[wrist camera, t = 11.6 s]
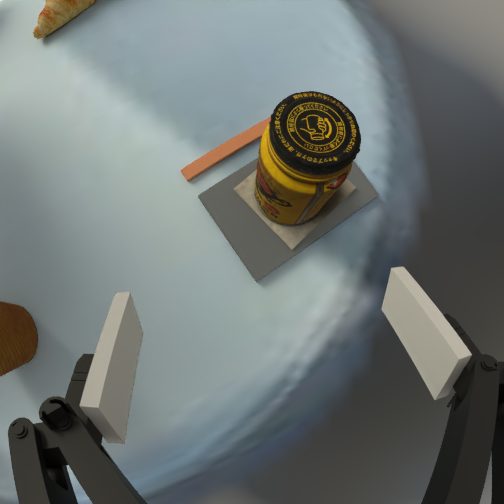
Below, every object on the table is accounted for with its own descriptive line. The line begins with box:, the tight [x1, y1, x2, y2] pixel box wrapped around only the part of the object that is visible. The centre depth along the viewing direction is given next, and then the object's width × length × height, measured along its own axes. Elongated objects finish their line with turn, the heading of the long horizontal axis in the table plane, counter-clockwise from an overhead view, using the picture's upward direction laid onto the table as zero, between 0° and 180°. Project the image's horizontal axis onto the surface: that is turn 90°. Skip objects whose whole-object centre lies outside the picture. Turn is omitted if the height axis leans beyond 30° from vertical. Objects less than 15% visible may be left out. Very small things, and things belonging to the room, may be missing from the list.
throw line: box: [181, 117, 271, 181], centre depth 29 cm, size 1×14×1 cm, turn 125°
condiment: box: [234, 91, 361, 250], centre depth 22 cm, size 7×8×12 cm
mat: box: [198, 158, 378, 282], centre depth 28 cm, size 9×14×1 cm, turn 125°
